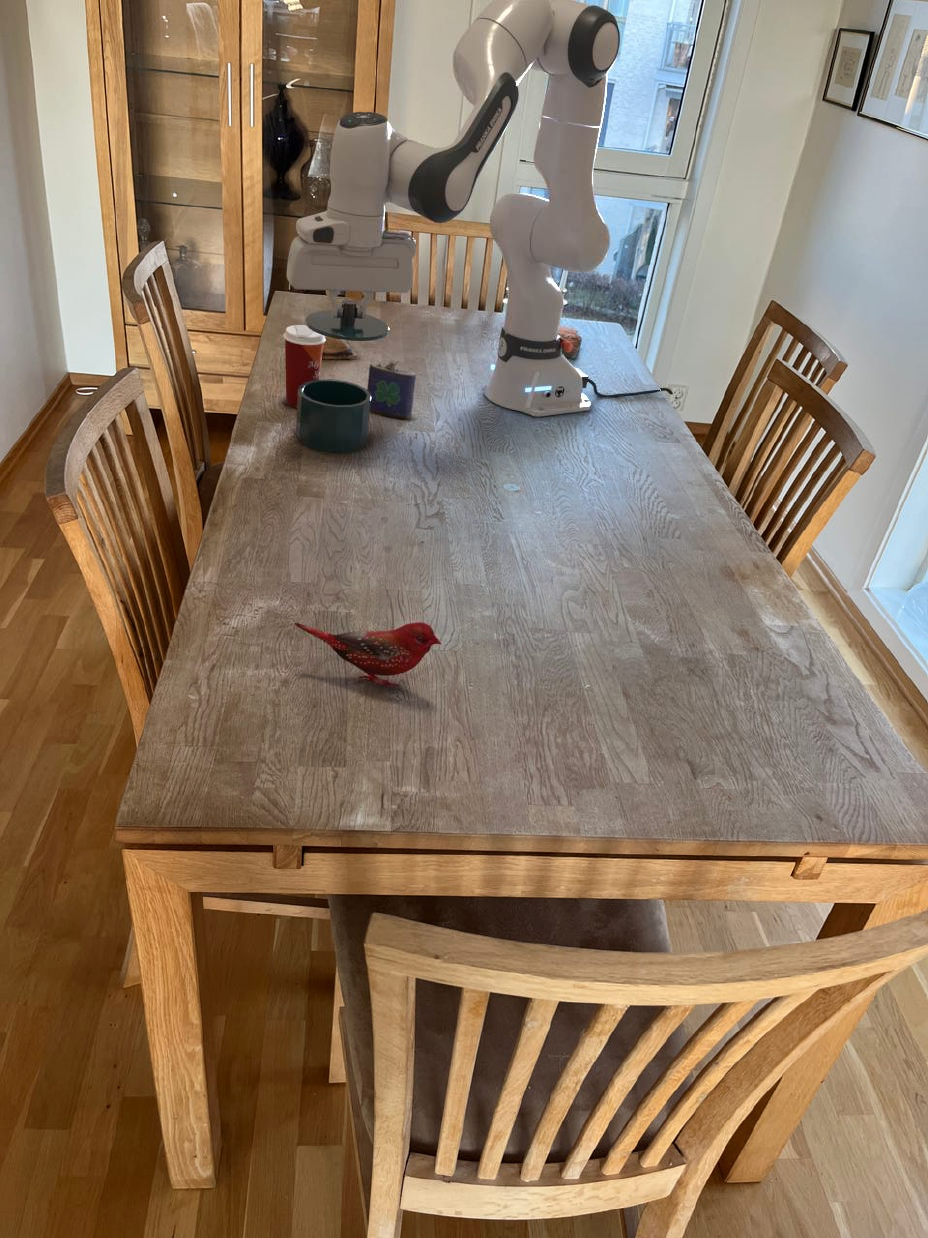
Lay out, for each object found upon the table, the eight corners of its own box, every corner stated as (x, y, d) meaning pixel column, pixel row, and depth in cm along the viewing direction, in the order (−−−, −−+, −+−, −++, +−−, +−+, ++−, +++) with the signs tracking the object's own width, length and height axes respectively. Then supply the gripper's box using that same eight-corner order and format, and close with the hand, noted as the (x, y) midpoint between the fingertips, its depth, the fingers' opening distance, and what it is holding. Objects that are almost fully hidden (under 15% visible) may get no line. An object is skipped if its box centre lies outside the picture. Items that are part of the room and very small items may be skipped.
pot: (355, 422, 183) (358, 378, 178) (376, 451, 174) (380, 406, 169) (288, 424, 178) (290, 379, 173) (306, 454, 169) (309, 407, 164)
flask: (412, 416, 189) (418, 362, 183) (407, 421, 187) (413, 367, 181) (367, 405, 191) (372, 352, 185) (362, 410, 188) (367, 356, 182)
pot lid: (373, 317, 169) (376, 290, 166) (399, 345, 159) (402, 316, 156) (296, 316, 163) (297, 287, 161) (317, 344, 153) (319, 314, 151)
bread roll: (348, 347, 217) (350, 330, 215) (358, 360, 211) (360, 343, 209) (301, 345, 214) (302, 329, 212) (310, 359, 207) (311, 342, 205)
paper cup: (318, 413, 184) (322, 340, 176) (277, 407, 184) (280, 333, 176) (324, 398, 191) (328, 327, 183) (284, 392, 190) (287, 321, 182)
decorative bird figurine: (431, 703, 117) (441, 635, 111) (287, 671, 118) (291, 602, 112) (435, 689, 119) (446, 621, 114) (295, 658, 120) (299, 589, 115)
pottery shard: (582, 362, 232) (586, 346, 230) (518, 352, 231) (521, 336, 228) (576, 340, 245) (579, 325, 243) (515, 331, 244) (518, 315, 242)
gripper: (410, 227, 159) (401, 312, 166) (286, 219, 151) (282, 309, 158) (424, 237, 154) (413, 324, 162) (296, 230, 146) (291, 322, 154)
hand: (347, 317), depth 160 cm, fingers closed on pot lid, 2 cm apart
